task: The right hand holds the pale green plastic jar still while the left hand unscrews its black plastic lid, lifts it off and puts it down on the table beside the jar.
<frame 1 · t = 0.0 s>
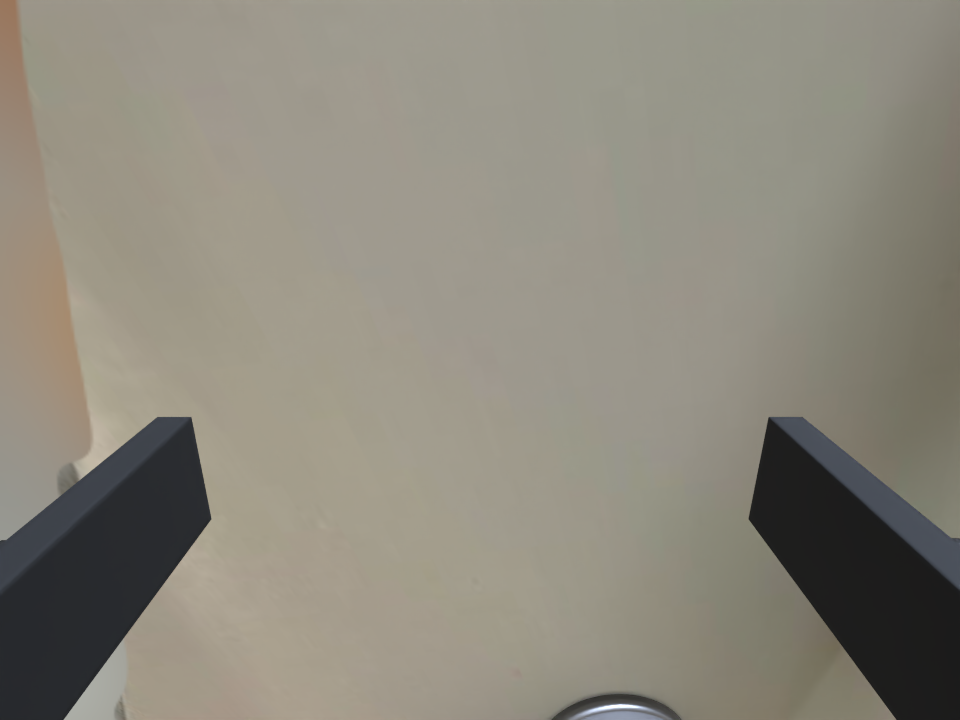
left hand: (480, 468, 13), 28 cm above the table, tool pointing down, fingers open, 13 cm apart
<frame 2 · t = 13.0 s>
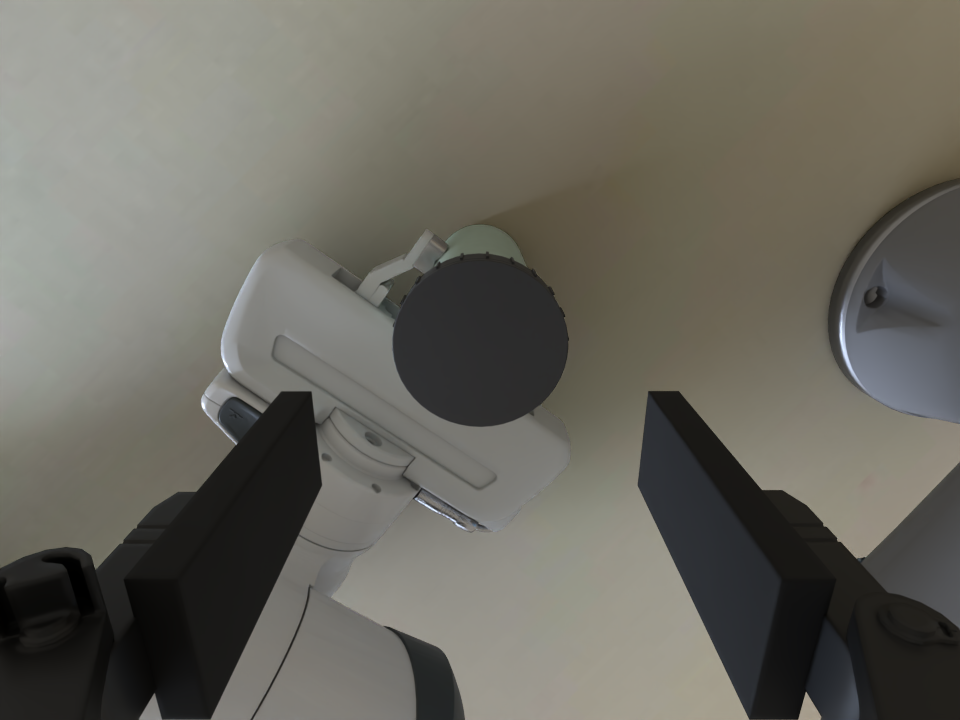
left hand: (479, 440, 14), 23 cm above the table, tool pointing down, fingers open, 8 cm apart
right hand: (489, 276, 30), fingers closed on jar, 5 cm apart
lid: (480, 345, 21), point 15 cm above the table, screwed on, not yet turned
jar: (480, 268, 36), on the table, touching right hand
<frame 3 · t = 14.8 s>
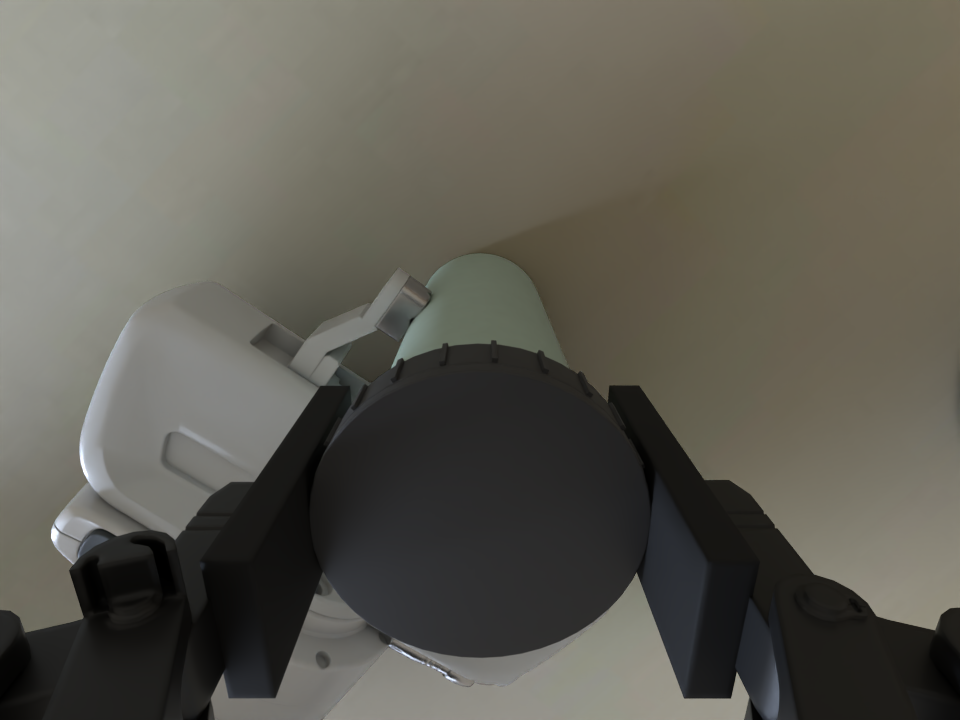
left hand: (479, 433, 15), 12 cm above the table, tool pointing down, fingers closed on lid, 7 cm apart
right hand: (494, 339, 20), fingers closed on jar, 5 cm apart
lid: (479, 518, 11), point 15 cm above the table, screwed on, not yet turned, touching left hand
jar: (480, 313, 25), on the table, touching right hand
when the left hand's fingers open (12 cm above the table, at t = 16.6 s): lid stays where it is, point 16 cm above the table.
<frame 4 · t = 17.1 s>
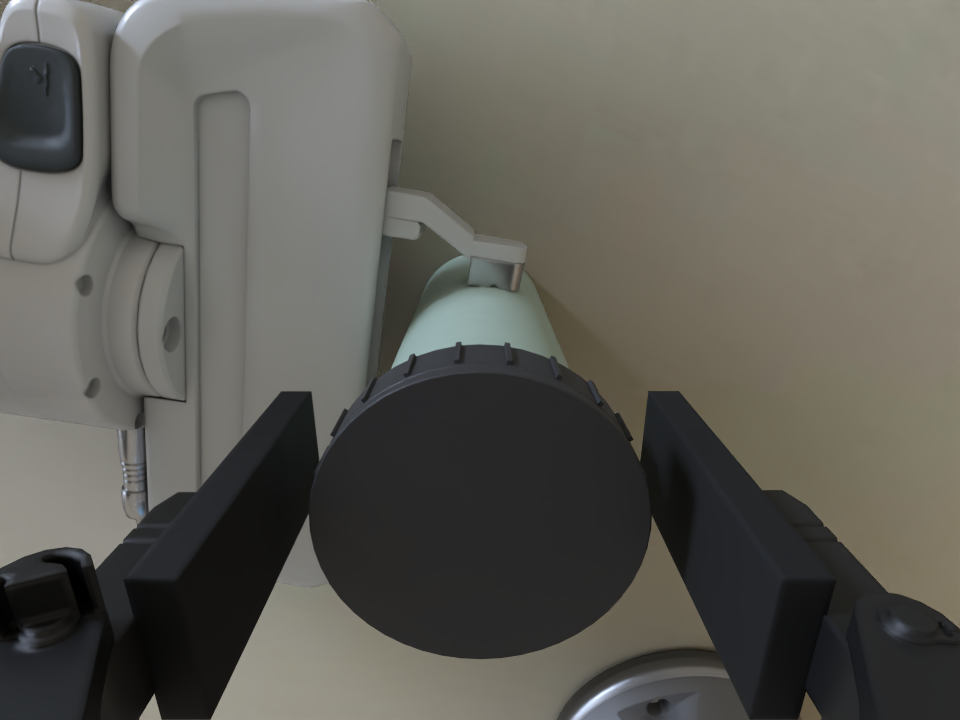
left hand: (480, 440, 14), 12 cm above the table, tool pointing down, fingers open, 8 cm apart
right hand: (504, 359, 20), fingers closed on jar, 5 cm apart
lid: (480, 519, 11), point 16 cm above the table, turned 107° so far, risen 0.3 cm, still on its thread
jar: (480, 312, 26), on the table, touching right hand
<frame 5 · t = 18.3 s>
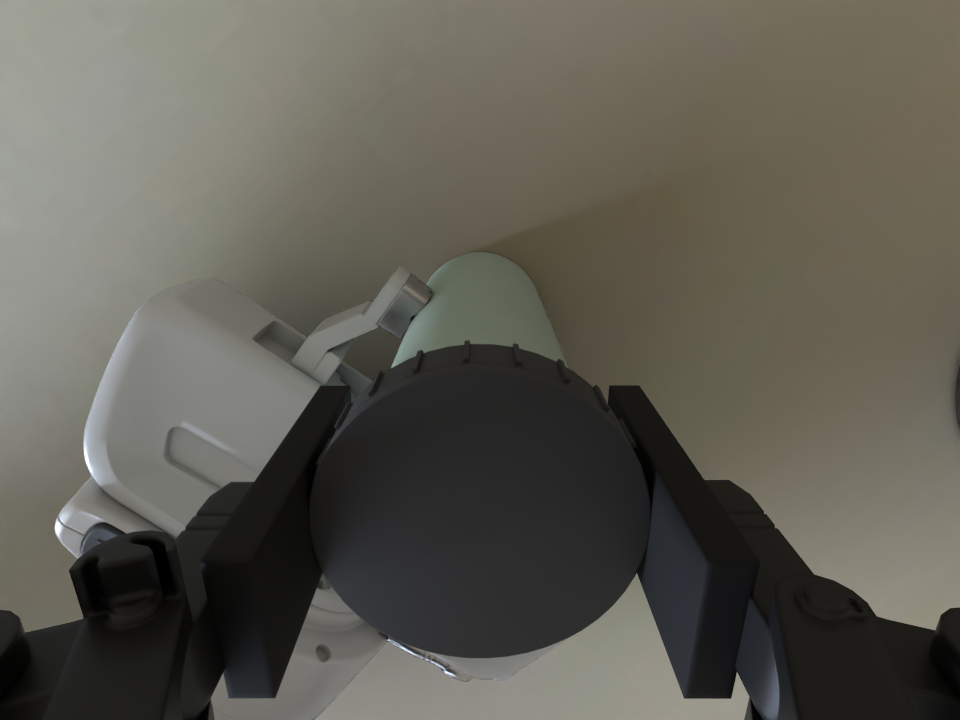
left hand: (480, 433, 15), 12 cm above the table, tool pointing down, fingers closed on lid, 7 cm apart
right hand: (494, 337, 20), fingers closed on jar, 5 cm apart
lid: (479, 519, 11), point 16 cm above the table, turned 107° so far, risen 0.3 cm, still on its thread, touching left hand
jar: (479, 312, 26), on the table, touching right hand
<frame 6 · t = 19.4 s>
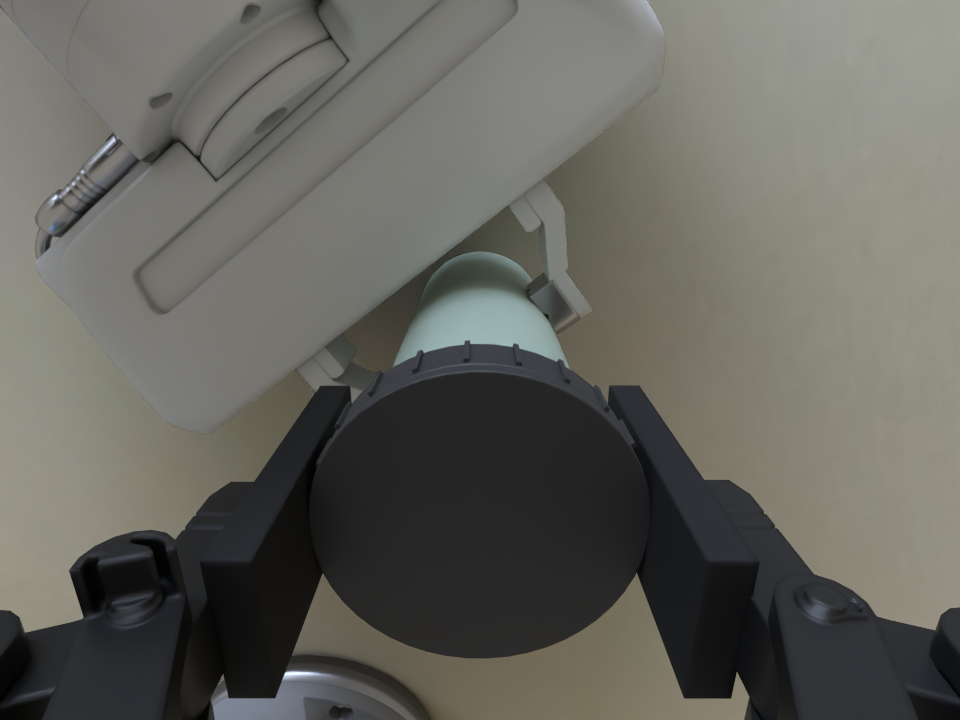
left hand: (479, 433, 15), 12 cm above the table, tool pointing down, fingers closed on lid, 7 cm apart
right hand: (496, 372, 21), fingers closed on jar, 5 cm apart
lid: (479, 519, 11), point 16 cm above the table, off its thread, touching left hand
jar: (480, 311, 26), on the table, touching right hand
when the left hand's fingers open (0 cm above the table, at t = 25.5 s): lid drops 3 cm, point 1 cm above the table.
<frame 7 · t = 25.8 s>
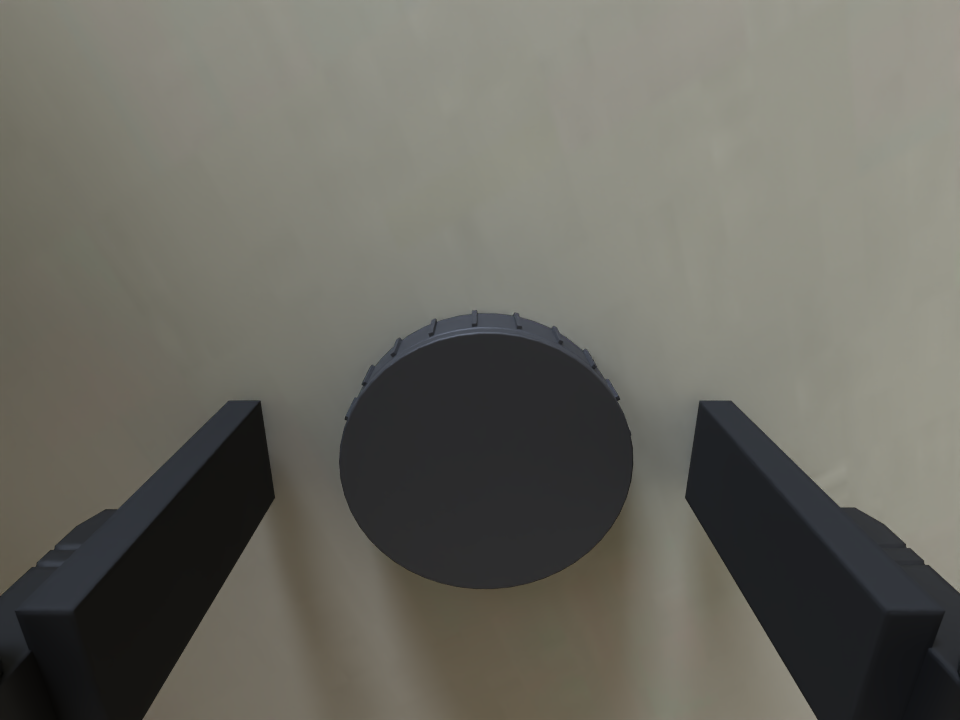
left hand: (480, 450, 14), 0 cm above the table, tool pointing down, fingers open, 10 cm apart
lid: (486, 464, 13), point 1 cm above the table, off its thread
when the right hand's fingers open (6 cm above the table, at t = 26.7 s): jar stays where it is, on the table.
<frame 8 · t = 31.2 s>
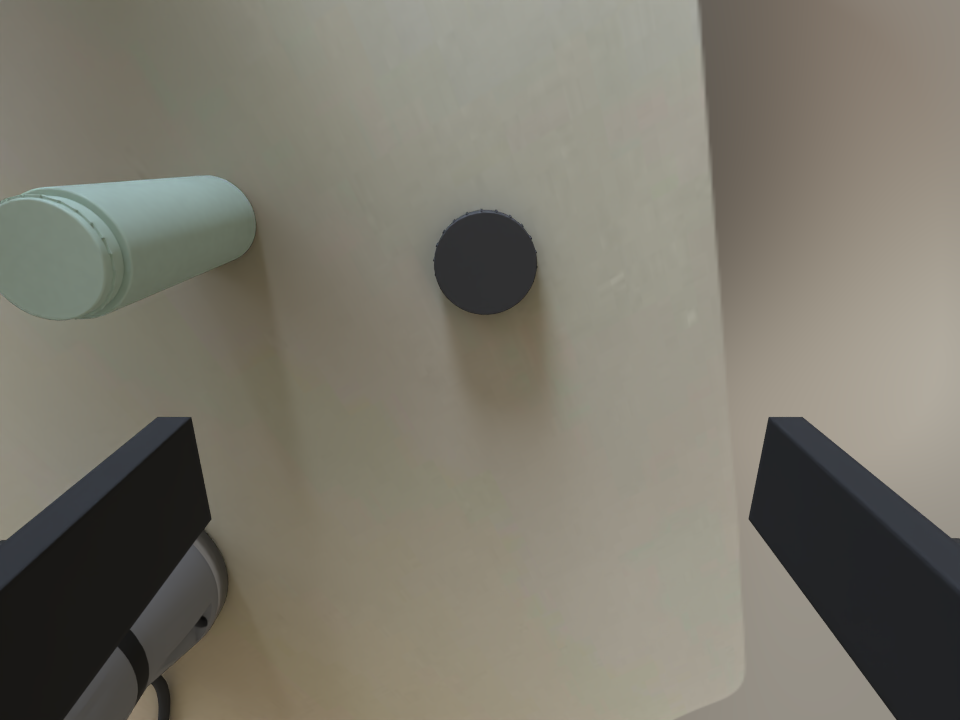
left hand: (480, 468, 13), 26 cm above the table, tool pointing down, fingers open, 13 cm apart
lid: (485, 264, 36), point 1 cm above the table, off its thread
jar: (213, 219, 36), on the table
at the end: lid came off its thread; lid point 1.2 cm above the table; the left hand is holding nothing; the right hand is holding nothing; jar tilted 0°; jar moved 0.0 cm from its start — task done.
